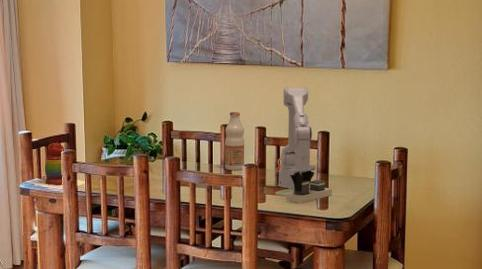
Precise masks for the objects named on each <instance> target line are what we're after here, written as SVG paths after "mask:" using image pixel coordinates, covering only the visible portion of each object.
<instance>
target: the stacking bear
mask: <svg viewBox="0 0 482 269" xmlns="http://www.w3.org/2000/svg"><path fill="white" fill-rule="evenodd" d="M64 150H65V151H66V149H65V148H64V146H63V145H62V144H61V143H59V141H56V142H52V143H50V144H49V145H48V147H47V153H48V156H47V157H46V159H45V165H44V172H45V176H46V179H45V183H46V184H47V183H49V184H48V185H50V184H54V185H53V186H62V185H63V184H62V175H61V159H60V157H61V152H62V151H64Z"/></svg>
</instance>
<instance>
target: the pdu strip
mask: <svg viewBox="0 0 482 269" xmlns="http://www.w3.org/2000/svg"><path fill="white" fill-rule="evenodd" d="M332 191H333V190H332V189H331V188H329V187H325V190H323V191H319V192H318V191H313V190H310V187H309V194H307V195H303V196H302V195H298V194H294V192H293V193H289V194H287V197H286V201H288V202H291V203H295V204H303V203H307V202H312V201H315V200H319V199H323V198H326V197H327V198H328V197H330V196H332Z"/></svg>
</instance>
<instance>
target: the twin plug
mask: <svg viewBox="0 0 482 269" xmlns="http://www.w3.org/2000/svg"><path fill="white" fill-rule="evenodd" d="M325 186H326V182H325V181H324V180H319V179H314V180H311V181H310V185H309V188H310V190H313V191H318V192H319V191H323V190H325V188H326V187H325Z"/></svg>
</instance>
